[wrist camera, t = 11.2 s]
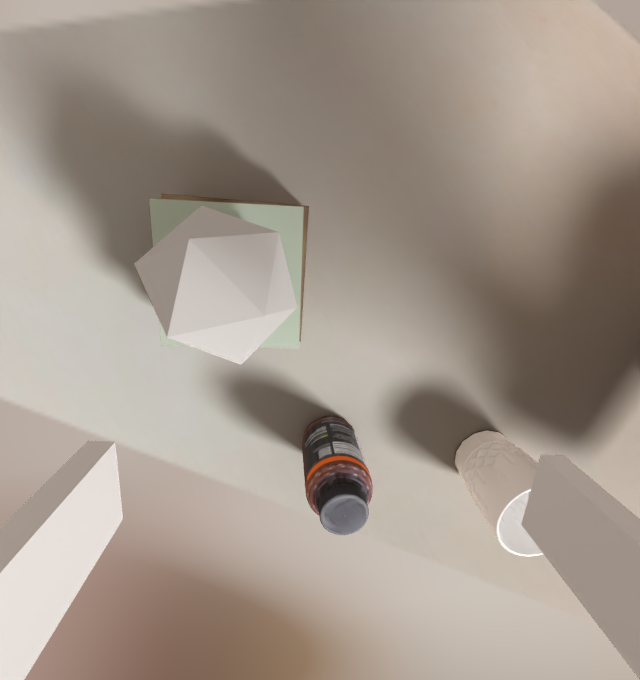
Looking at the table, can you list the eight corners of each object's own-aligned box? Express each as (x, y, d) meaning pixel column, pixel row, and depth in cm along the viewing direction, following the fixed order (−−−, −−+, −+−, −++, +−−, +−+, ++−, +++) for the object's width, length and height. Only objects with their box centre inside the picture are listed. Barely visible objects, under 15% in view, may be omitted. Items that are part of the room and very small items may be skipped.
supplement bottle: (333, 470, 41) (349, 557, 30) (291, 444, 39) (291, 526, 29) (367, 432, 40) (395, 508, 29) (324, 404, 38) (337, 472, 27)
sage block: (301, 209, 28) (303, 206, 24) (298, 333, 31) (299, 348, 27) (168, 202, 27) (148, 198, 23) (177, 330, 30) (161, 345, 26)
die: (191, 191, 24) (65, 260, 18) (307, 186, 21) (203, 270, 14) (230, 295, 29) (144, 378, 23) (328, 305, 26) (259, 407, 19)
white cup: (491, 492, 43) (547, 566, 34) (436, 471, 42) (479, 542, 32) (528, 439, 42) (599, 501, 32) (472, 415, 40) (529, 473, 31)
